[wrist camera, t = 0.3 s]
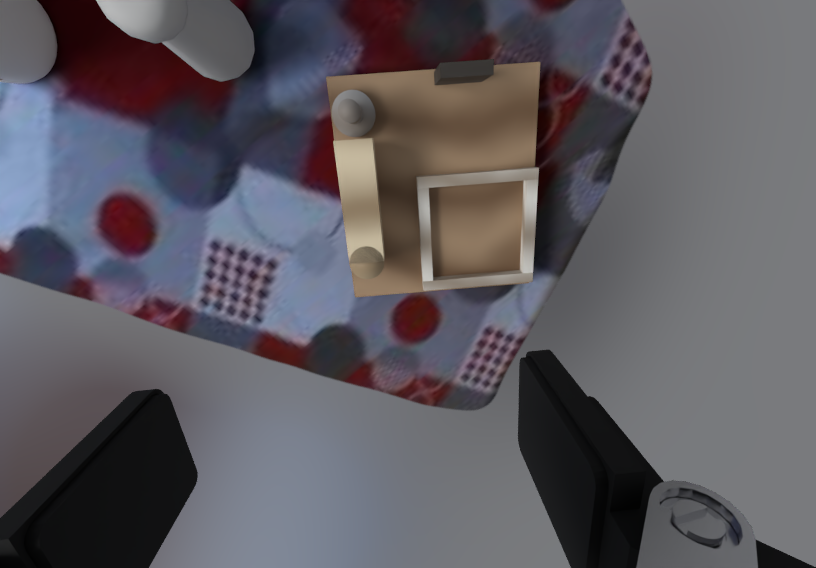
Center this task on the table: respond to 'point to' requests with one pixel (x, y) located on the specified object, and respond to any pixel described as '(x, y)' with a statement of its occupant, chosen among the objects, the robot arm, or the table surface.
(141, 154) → the table surface
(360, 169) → the leg
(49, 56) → the milk bottle
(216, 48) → the salt shaker
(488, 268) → the wooden activity board
